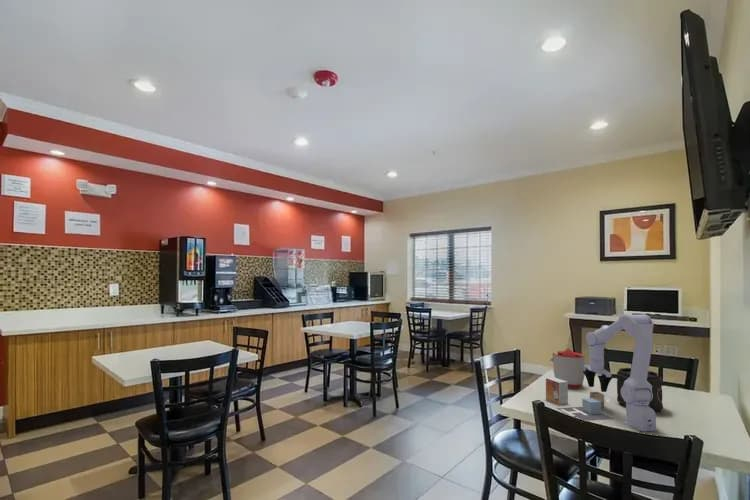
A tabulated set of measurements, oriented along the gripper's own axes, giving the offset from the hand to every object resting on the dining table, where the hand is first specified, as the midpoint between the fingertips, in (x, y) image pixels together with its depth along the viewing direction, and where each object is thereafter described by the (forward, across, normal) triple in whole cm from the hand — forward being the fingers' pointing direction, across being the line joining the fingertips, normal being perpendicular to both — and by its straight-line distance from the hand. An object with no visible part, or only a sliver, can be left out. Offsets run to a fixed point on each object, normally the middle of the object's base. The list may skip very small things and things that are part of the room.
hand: (597, 389), depth 173 cm
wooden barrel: (+8, +3, +19) cm, 21 cm away
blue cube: (+7, +7, -9) cm, 13 cm away
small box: (+8, -8, -15) cm, 19 cm away
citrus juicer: (+8, -32, +9) cm, 34 cm away
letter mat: (+8, +8, -14) cm, 17 cm away
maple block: (+8, 0, 0) cm, 8 cm away
